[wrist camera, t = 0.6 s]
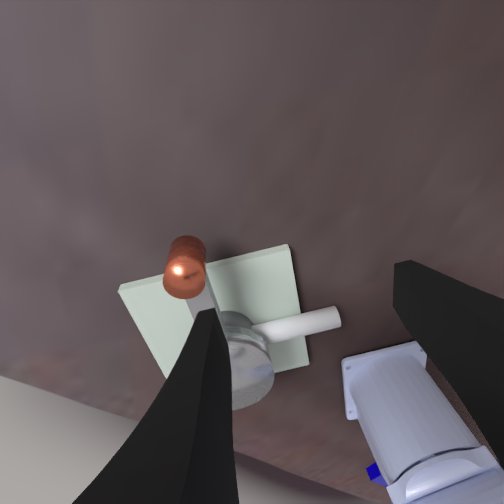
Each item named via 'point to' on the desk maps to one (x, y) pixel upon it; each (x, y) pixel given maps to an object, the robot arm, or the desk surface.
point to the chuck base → (233, 308)
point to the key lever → (238, 338)
